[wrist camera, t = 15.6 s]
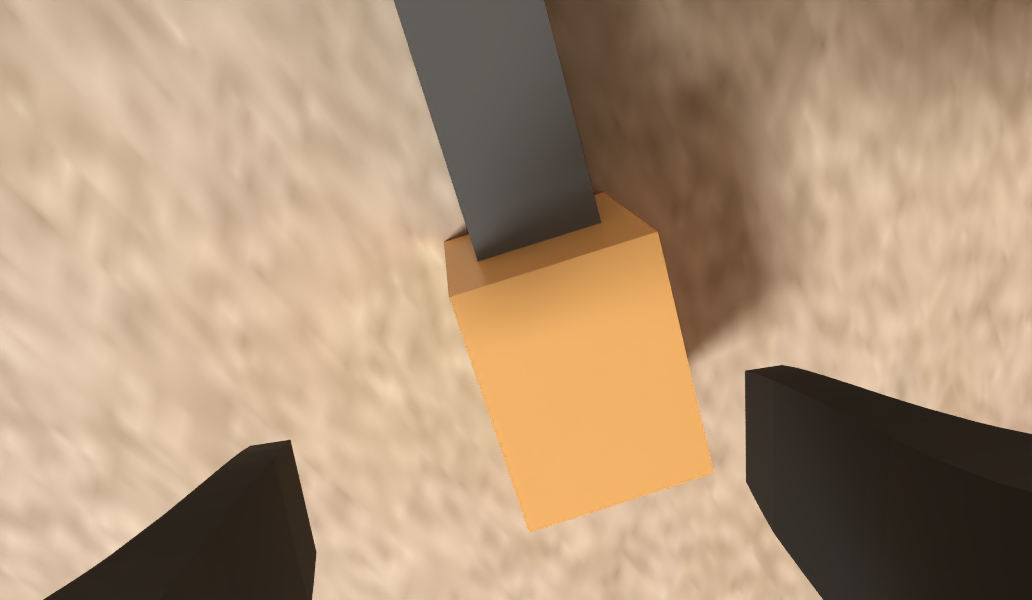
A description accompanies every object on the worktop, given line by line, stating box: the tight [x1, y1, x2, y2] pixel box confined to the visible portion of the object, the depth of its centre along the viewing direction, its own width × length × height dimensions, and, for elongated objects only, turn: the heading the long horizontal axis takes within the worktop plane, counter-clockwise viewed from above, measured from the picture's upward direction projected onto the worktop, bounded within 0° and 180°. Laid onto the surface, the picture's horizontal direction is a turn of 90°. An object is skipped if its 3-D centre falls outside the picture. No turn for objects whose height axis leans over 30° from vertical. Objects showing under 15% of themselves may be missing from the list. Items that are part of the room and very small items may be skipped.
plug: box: [394, 0, 714, 533], centre depth 17 cm, size 16×4×5 cm, turn 16°
